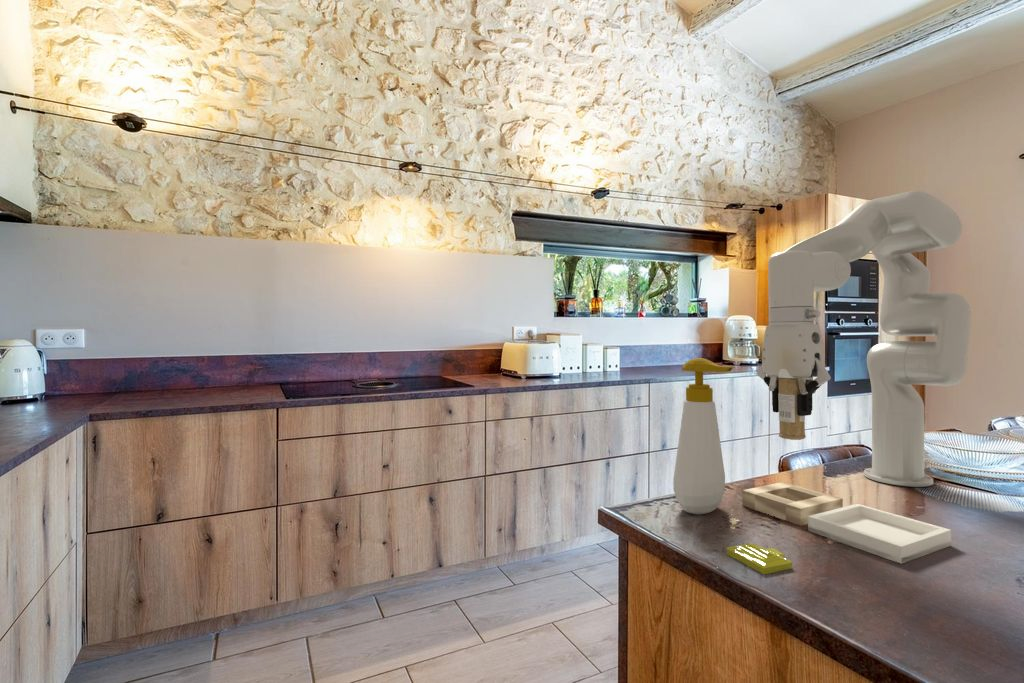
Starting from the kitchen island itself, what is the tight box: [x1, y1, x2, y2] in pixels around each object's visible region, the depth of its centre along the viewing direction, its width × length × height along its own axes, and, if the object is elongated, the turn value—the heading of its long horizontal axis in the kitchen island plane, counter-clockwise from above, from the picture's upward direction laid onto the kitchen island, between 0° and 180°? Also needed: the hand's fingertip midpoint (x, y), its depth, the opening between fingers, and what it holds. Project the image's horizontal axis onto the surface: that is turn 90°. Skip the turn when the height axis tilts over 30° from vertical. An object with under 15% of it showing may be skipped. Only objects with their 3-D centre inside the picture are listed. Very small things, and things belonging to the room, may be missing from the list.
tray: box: [807, 503, 952, 565], centre depth 83 cm, size 14×14×2 cm
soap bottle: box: [672, 357, 733, 515], centre depth 96 cm, size 13×10×29 cm
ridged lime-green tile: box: [726, 542, 794, 575], centre depth 75 cm, size 10×9×3 cm
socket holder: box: [741, 481, 844, 527], centre depth 96 cm, size 12×12×3 cm
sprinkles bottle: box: [778, 369, 807, 441], centre depth 96 cm, size 5×5×13 cm
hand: (791, 412), depth 96 cm, fingers closed on sprinkles bottle, 4 cm apart
